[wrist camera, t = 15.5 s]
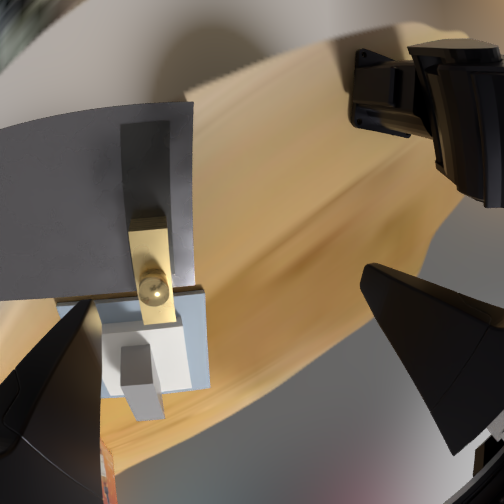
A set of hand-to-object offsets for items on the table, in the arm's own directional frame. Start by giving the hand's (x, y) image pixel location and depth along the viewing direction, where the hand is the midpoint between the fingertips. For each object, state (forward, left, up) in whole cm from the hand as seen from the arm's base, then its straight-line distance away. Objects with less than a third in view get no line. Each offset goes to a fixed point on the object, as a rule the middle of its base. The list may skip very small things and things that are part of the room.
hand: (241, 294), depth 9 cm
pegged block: (+3, +3, -8) cm, 10 cm away
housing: (+8, 0, -12) cm, 14 cm away
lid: (+5, +14, -11) cm, 19 cm away
